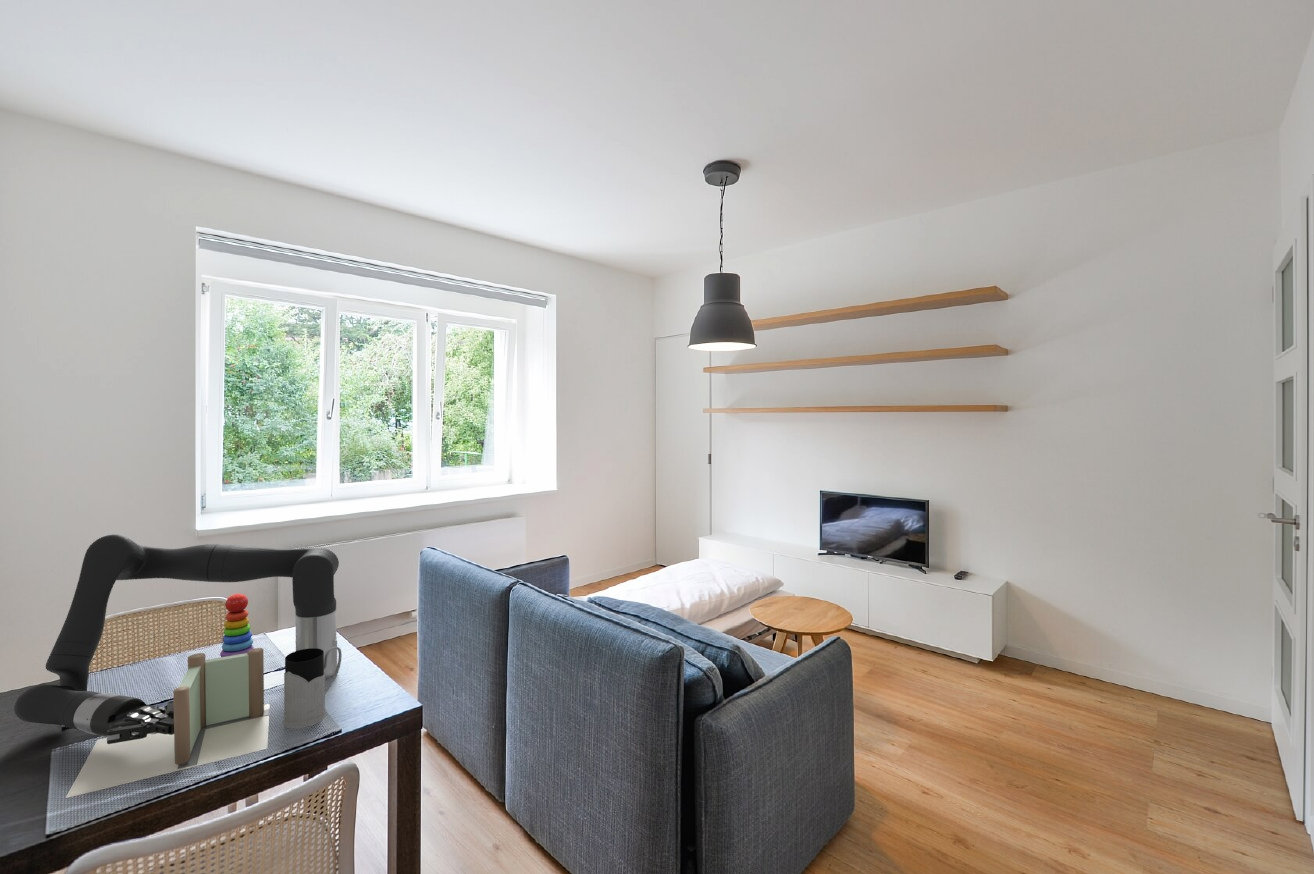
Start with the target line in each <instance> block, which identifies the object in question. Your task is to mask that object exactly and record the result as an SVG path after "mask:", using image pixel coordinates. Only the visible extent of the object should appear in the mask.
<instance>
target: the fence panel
mask: <svg viewBox="0 0 1314 874" xmlns="http://www.w3.org/2000/svg"><path fill="white" fill-rule="evenodd" d="M200 670H201V666H198V667H192V668H189V669H188V668H187V671H186V673H185V674H184V676H183V678H182V680H181V682H180V683H179V685H178V687H176V688H175V689H173V692H172V693H173V694H172V695H173V696H172V697H173V701H174V753H175V764H183V763H186V762H188V761H189V760H190V754H191V751H192V749H193V746H194V744H195V741H196V739H197V736H198V734H199V731H200V729H201V724H200Z"/></svg>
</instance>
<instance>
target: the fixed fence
mask: <svg viewBox="0 0 1314 874" xmlns="http://www.w3.org/2000/svg"><path fill="white" fill-rule="evenodd" d="M264 661H265V659H264V648H262V647H257V648H254V649H251V650H249V651H248V652H247V653H244V654H238V655H232V656H227V657H221V656H220V657H215V658H210V659H206V653H204V652H200V653H194V654H191V655H188V657H187V670H188V669H189V668H192V667H198V666H201V670H200V724H201V729H203V728H205V727H206V725H210V724H215V723H219V722H224V721H229V720H233V719H238V718H242V717H247V716H248V717H249V718H257V717H260V716H262V715H263V714H264V705H265V678H264V675H265V673H264V670H265V669H264V667H265V666H264V663H265V662H264ZM201 729H200V730H201Z"/></svg>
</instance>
